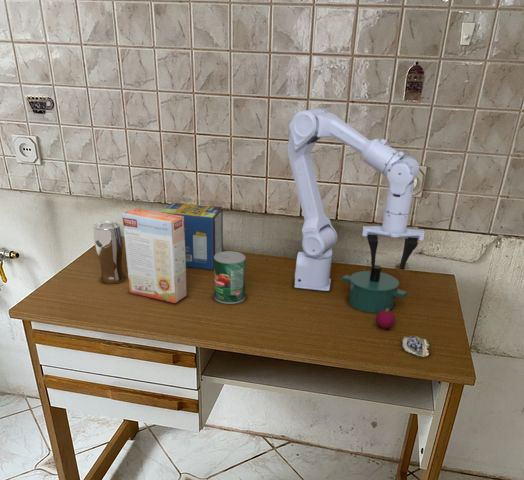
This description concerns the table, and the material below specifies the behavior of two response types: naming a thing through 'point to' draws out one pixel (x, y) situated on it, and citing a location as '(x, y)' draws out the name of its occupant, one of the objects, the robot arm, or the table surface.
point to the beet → (385, 319)
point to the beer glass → (109, 251)
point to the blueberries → (416, 345)
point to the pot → (372, 298)
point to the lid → (374, 280)
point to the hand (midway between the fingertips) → (387, 265)
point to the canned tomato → (229, 277)
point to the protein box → (200, 232)
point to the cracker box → (155, 254)
